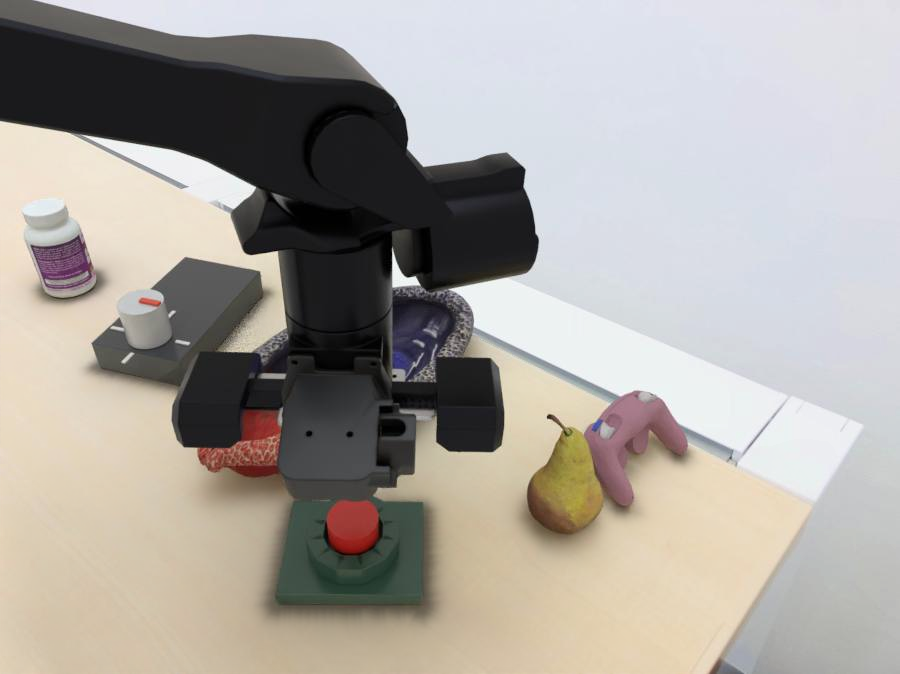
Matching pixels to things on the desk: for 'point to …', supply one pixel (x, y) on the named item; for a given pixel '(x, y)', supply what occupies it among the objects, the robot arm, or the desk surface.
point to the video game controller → (629, 438)
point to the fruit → (566, 485)
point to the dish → (413, 349)
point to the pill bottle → (57, 248)
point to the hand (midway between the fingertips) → (349, 490)
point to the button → (353, 526)
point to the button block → (353, 558)
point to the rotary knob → (144, 318)
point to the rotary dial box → (185, 319)
